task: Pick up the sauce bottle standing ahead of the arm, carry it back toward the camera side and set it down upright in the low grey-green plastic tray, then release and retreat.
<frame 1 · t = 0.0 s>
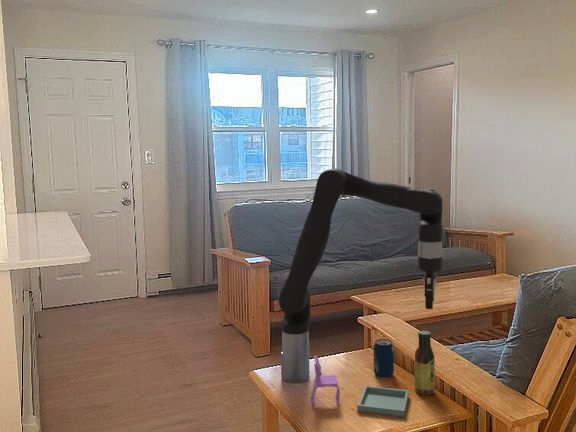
hand: (429, 304, 173), 29 cm above the table, fingers open, 8 cm apart
soda can: (383, 375, 191), on the table
sauce bottle: (424, 392, 177), on the table
tray: (383, 404, 169), on the table
chair: (325, 402, 172), on the table
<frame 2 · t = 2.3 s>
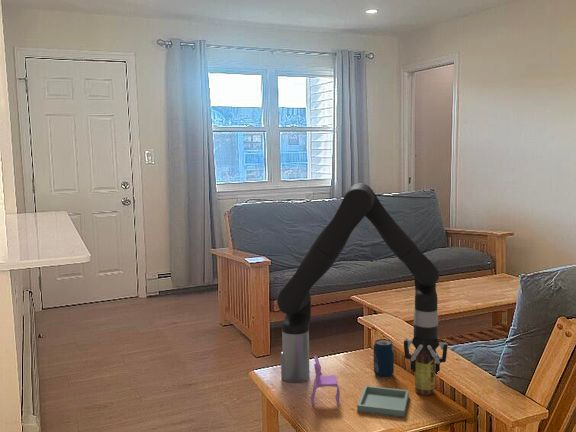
hand: (425, 372, 176), 7 cm above the table, fingers closed on sauce bottle, 6 cm apart
sauce bottle: (424, 392, 177), on the table, touching gripper
everything else where it was.
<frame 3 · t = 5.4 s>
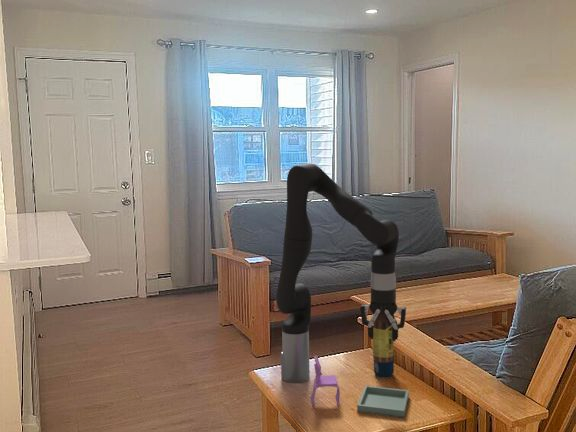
hand: (383, 339, 166), 21 cm above the table, fingers closed on sauce bottle, 6 cm apart
sauce bottle: (383, 360, 167), point 14 cm above the table, touching gripper
everything else where it was.
when the fingers open (8 cm above the table, at t = 8.2 s): sauce bottle stays where it is, resting on tray.
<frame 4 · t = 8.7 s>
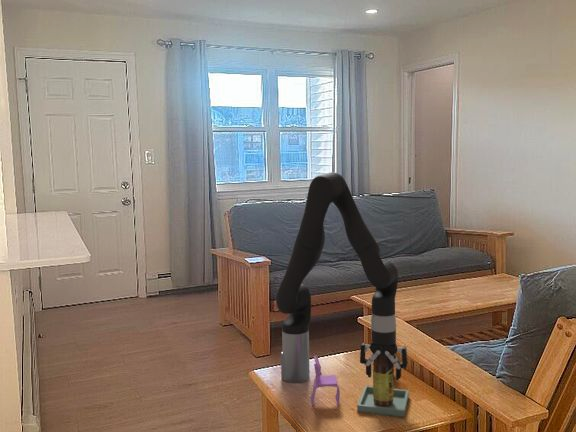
hand: (383, 377, 168), 9 cm above the table, fingers open, 8 cm apart
sauce bottle: (383, 403, 169), resting on tray
everything else where it was.
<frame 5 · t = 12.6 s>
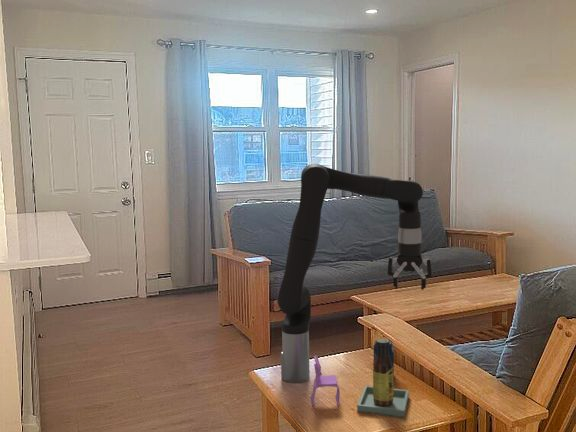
hand: (409, 288, 182), 32 cm above the table, fingers open, 8 cm apart
nothing on the table moved.
at the end: sauce bottle inside the target area on the tray (0.2 cm from its centre), point 0.3 cm above the tray's base; sauce bottle tilted 0°; the gripper is holding nothing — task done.
